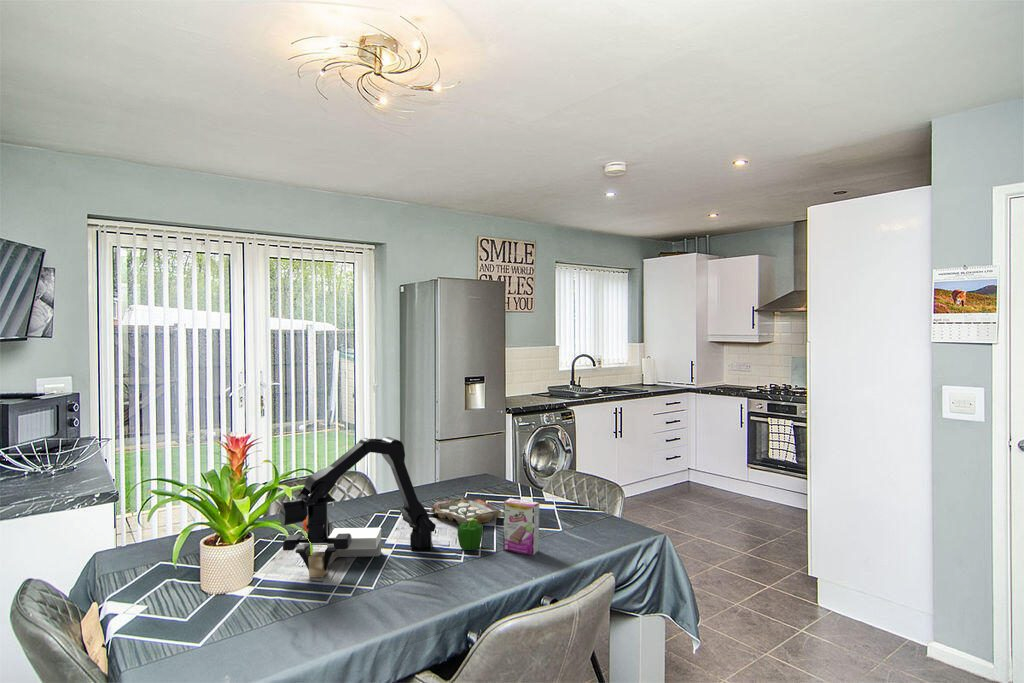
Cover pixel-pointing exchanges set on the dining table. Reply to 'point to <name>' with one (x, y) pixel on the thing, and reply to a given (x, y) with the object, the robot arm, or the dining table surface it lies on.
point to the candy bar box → (521, 526)
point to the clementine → (305, 525)
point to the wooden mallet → (319, 563)
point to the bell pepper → (470, 535)
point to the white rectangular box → (360, 542)
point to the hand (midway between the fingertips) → (318, 570)
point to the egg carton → (465, 510)
